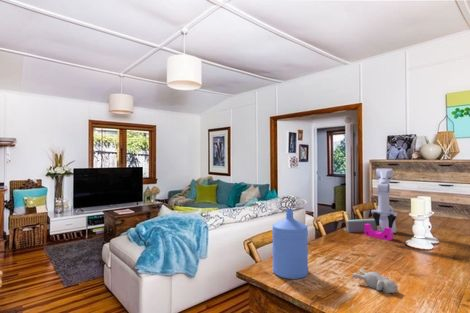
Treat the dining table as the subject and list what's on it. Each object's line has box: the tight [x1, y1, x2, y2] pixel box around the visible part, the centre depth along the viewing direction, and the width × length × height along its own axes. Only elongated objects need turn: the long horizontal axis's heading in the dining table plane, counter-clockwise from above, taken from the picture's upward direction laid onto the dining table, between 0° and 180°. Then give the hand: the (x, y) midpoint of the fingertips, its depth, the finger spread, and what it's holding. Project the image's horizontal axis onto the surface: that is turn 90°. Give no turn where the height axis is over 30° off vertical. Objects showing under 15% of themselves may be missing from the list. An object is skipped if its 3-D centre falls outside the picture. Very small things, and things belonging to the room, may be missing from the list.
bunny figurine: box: [352, 268, 399, 294], centre depth 106 cm, size 10×5×15 cm
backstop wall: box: [343, 218, 378, 233], centre depth 188 cm, size 22×6×8 cm, turn 100°
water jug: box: [271, 208, 309, 280], centre depth 120 cm, size 16×16×28 cm
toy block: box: [364, 224, 394, 242], centre depth 172 cm, size 15×6×8 cm, turn 40°
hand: (383, 226), depth 159 cm, fingers open, 7 cm apart
